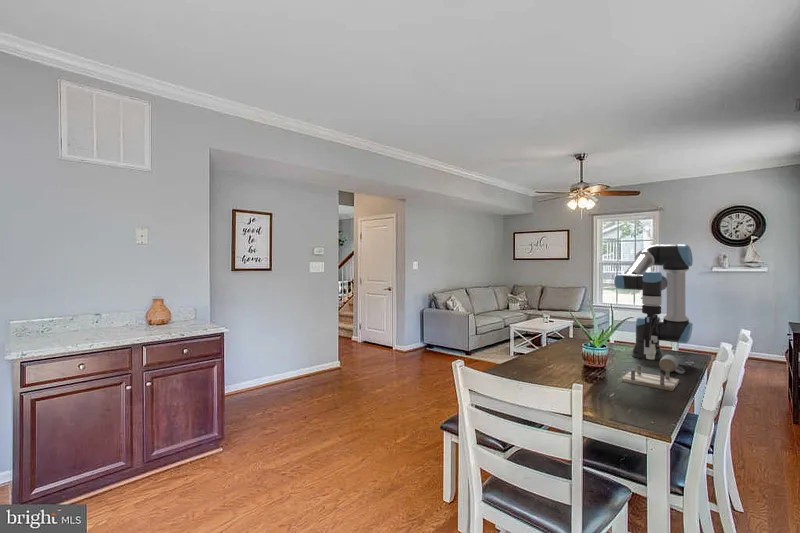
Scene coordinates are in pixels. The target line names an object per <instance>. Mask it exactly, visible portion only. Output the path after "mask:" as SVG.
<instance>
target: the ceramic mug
mask: <svg viewBox="0 0 800 533" xmlns="http://www.w3.org/2000/svg"><path fill="white" fill-rule="evenodd" d="M679 364H680V363H679V360H678V358H677V357H676V356H674V355H672V354H665V355H663V357H662V359H661V360H659V363H658V365H659V368H660V370H662V371H663V372H664V373H666V369H667V370H670V373H672V372H675V373H678V374H682V375H683V374H685V372H686V370H685V369H684V368H683V367H681V366H680V365H679Z"/></svg>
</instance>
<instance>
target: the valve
mask: <svg viewBox="0 0 800 533" xmlns="http://www.w3.org/2000/svg"><path fill="white" fill-rule="evenodd" d="M657 345H658V343H657V342H656V343H653V340H651V355H648V354H646V358H647V359H646V360H648V359H655V354H656V353H658V351H657V349H660V348H661V346H660V347H657ZM655 347H656V349H655Z"/></svg>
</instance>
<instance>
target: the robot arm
mask: <svg viewBox="0 0 800 533" xmlns="http://www.w3.org/2000/svg"><path fill="white" fill-rule="evenodd" d="M693 261H694V260H693V252H692V249H691V247H690V245H688V244H683V243H682V244H681V243H672V244H671V243H670V244H652V245H649V246H647V247H645V248H643V249H641V250H640V251H638V252H637V254H635V257H634V260H633V262H632V263H631V265H629V267H628V268H627V270H626V271H625V272H624V273H617V274H616V275H615V276H614V282H613V283H614V287H615V289H617V290H618V289H620V290H635V291H642V294H641V295H642V297H641V298H640V299H641V300H642V302H641V303H642V304H643V305H641V313H642V314H645V315H646V316H641V317H637V318H636V321H635V343H634V345H633V348H632V350H631V356H633V357H635V358H637V359H643V360H649V361H658V360H659V361H660V360H661V359H662V357H663V356H664V355H663V352H662V349H661V346H660V341H662V342H663V341H664V342H670V343H677V344H680V343H681V344H687V343H689V342H690V340H691V336H692V332H693V328H694V327H693V323H692V322H690V318H689V317H688V316H687V315H686V272H687V271H689V270H690V267H692V266H693V263H694V262H693ZM652 266H658V267H659V266H662V269H663V271H664V272H665V273H666V276H664V275H663V274H662V272H661V271H648V269H649V268H651V267H652ZM665 289H666V315H664V316H663V319H661V318H660V316H658V315H661V314H662V302H663V301H662V300H663V298H662V291H664V290H665ZM651 340H653V343H656V342H657V343H658V345H657V347H660V349H657V351H658V353H656V354H655V359H647V358H646V354H648V355H651ZM655 349H656V347H655Z"/></svg>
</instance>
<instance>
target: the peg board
mask: <svg viewBox="0 0 800 533" xmlns="http://www.w3.org/2000/svg"><path fill="white" fill-rule="evenodd" d="M636 367H637V371H636V370H635V369H631V370H630V371H629V372H627V373H626V374H625V375H623V376H622V377H621V382H623V383H628V384H633V385H639V386H644V387H650V388H655V389H659V390H666V391H670V392H673V391H674V389H676V387H677V386H678V385H679V383H680V378H679V379H678V378H673V377H670V376H671V375H670V373H671V372H670V370H667V369H666V372H665V374H664V375H663V374H659V375H658V374H657V375H656V374H650V373H645V372H642V365H640V364H637V366H636Z"/></svg>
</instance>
